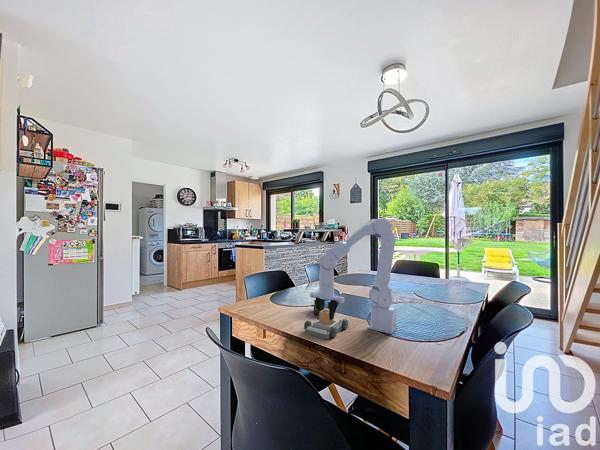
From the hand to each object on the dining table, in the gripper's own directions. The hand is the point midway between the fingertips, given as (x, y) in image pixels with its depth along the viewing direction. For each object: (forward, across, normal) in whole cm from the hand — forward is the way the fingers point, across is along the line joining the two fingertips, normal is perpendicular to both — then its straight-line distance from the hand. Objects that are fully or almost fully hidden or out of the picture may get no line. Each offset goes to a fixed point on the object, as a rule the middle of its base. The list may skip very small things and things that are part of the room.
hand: (326, 318), depth 103 cm
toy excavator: (+5, -13, +20) cm, 24 cm away
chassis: (+4, 0, 0) cm, 4 cm away
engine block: (+2, 0, 0) cm, 2 cm away
